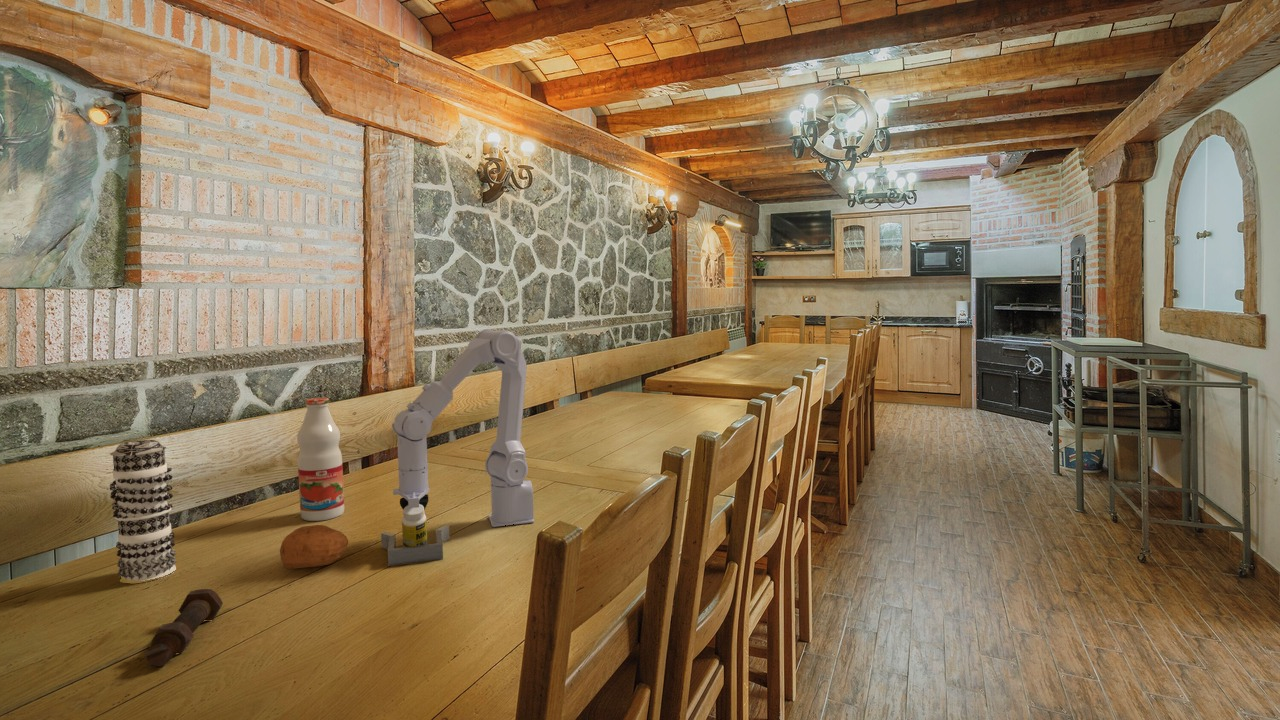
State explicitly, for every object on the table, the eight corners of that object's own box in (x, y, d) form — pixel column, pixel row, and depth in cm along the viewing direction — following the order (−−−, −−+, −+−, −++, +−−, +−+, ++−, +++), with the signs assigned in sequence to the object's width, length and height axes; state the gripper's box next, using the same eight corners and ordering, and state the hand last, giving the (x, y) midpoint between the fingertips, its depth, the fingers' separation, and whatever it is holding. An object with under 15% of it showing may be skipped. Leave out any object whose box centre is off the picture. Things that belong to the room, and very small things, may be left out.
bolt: (152, 684, 87) (200, 626, 102) (187, 662, 88) (229, 608, 102) (124, 652, 86) (176, 599, 100) (160, 630, 86) (206, 580, 101)
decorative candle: (191, 567, 121) (182, 438, 119) (139, 588, 112) (128, 449, 110) (157, 561, 124) (148, 435, 122) (104, 581, 115) (93, 445, 113)
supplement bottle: (418, 553, 128) (417, 518, 125) (398, 547, 129) (396, 512, 126) (432, 539, 132) (430, 505, 129) (412, 534, 133) (410, 500, 130)
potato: (301, 555, 127) (299, 519, 126) (357, 555, 126) (355, 519, 126) (273, 575, 118) (271, 535, 117) (333, 575, 117) (331, 536, 117)
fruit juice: (345, 507, 157) (340, 395, 155) (343, 518, 149) (338, 400, 146) (302, 512, 154) (296, 397, 151) (298, 524, 145) (292, 402, 143)
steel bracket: (449, 538, 136) (448, 524, 135) (452, 557, 125) (451, 543, 125) (381, 546, 131) (381, 532, 131) (378, 567, 120) (378, 552, 120)
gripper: (393, 461, 137) (396, 522, 138) (390, 478, 123) (393, 546, 125) (428, 458, 139) (430, 518, 141) (429, 475, 126) (431, 541, 127)
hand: (415, 531), depth 133 cm, fingers closed, pressing on supplement bottle
